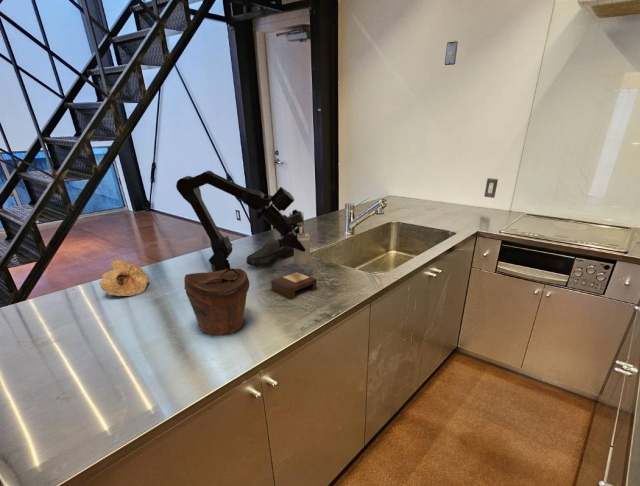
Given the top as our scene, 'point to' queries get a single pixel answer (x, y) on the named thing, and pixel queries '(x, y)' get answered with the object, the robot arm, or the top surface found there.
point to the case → (218, 299)
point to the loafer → (269, 253)
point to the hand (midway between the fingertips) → (305, 248)
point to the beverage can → (300, 256)
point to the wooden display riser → (292, 284)
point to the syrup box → (300, 224)
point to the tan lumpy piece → (124, 279)
